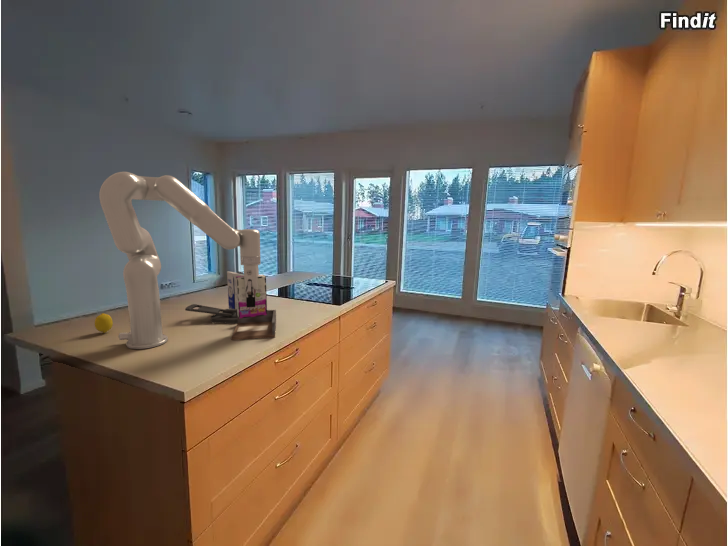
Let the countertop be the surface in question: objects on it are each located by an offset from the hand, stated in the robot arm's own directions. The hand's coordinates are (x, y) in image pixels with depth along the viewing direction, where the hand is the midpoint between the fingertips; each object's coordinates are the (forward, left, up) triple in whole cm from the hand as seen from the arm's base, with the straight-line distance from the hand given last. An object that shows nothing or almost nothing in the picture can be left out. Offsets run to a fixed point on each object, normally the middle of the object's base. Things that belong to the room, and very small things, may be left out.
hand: (251, 304), depth 131 cm
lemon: (-56, +8, -12) cm, 58 cm away
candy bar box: (0, 0, -5) cm, 5 cm away
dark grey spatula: (-17, +18, -12) cm, 27 cm away
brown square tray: (+1, +1, -11) cm, 12 cm away
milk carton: (-10, +33, -12) cm, 36 cm away
